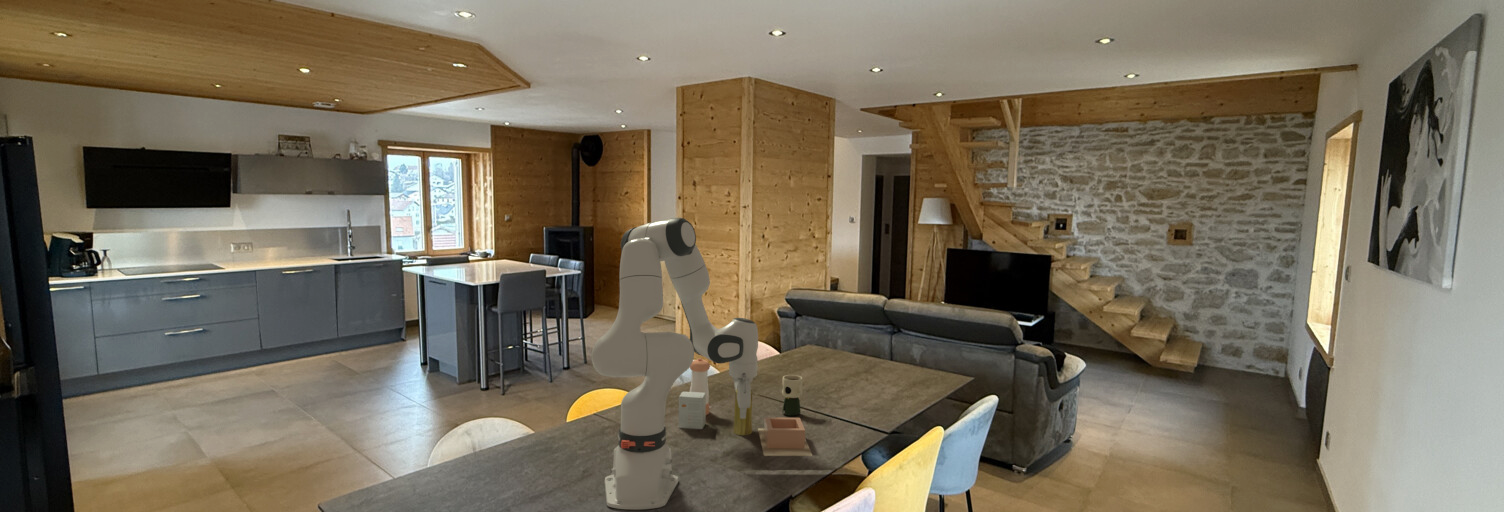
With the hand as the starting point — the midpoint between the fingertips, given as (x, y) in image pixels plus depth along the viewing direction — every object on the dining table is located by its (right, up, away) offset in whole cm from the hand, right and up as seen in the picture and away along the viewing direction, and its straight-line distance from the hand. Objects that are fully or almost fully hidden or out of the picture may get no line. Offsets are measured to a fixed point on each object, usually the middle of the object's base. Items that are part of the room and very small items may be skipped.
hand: (741, 412), depth 203 cm
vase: (0, -7, 0) cm, 7 cm away
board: (+13, -8, -7) cm, 17 cm away
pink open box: (+13, -7, -7) cm, 16 cm away
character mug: (+17, -6, +21) cm, 28 cm away
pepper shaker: (-15, -5, +20) cm, 25 cm away
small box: (-16, -6, +7) cm, 19 cm away
